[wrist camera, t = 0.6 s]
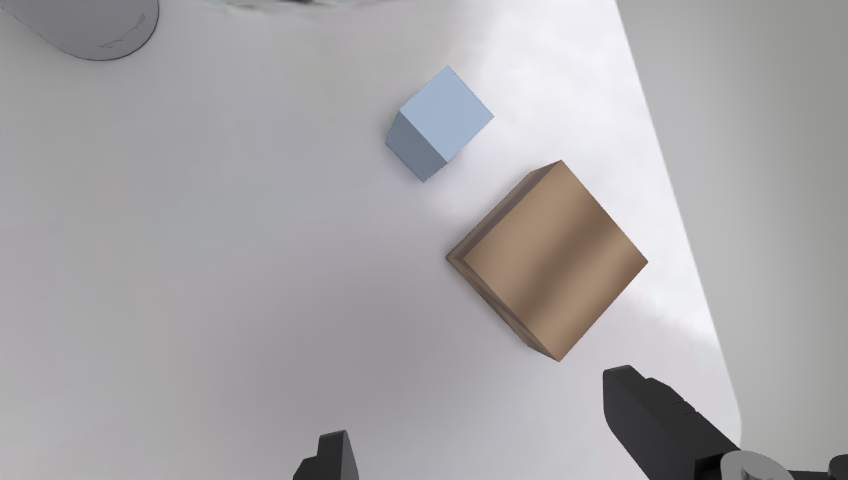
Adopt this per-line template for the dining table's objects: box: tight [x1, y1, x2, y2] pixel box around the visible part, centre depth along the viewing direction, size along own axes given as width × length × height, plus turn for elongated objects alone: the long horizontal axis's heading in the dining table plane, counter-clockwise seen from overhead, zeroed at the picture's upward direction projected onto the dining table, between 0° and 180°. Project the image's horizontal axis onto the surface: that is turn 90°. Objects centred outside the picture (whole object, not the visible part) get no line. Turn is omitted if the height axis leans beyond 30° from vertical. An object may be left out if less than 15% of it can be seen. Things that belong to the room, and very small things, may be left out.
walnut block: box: [445, 160, 648, 362], centre depth 38 cm, size 12×12×6 cm
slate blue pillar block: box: [385, 65, 494, 182], centre depth 34 cm, size 5×5×9 cm
